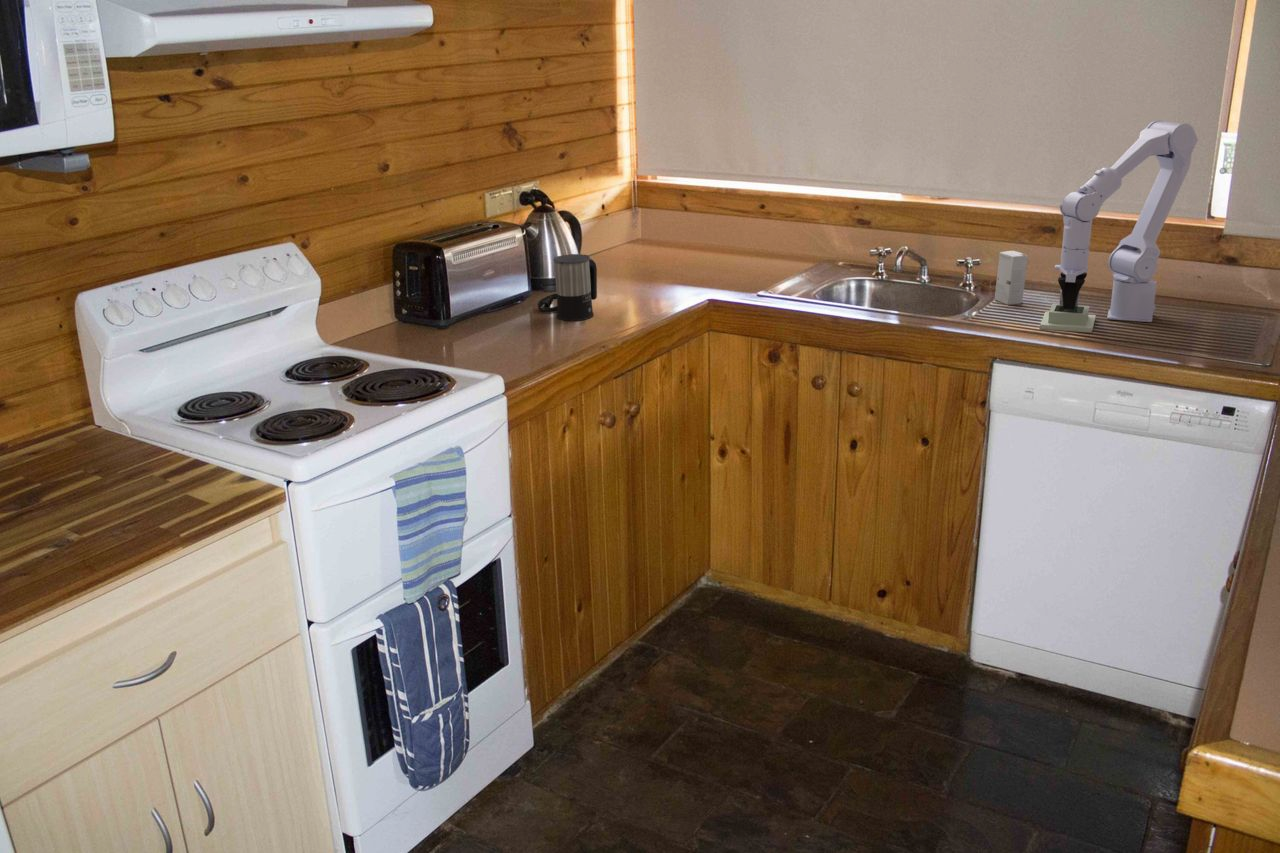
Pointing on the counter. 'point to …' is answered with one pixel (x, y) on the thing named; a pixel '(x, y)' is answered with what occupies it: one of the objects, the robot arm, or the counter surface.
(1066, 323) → the socket stand
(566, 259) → the milk frother
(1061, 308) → the peg
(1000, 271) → the skincare box
